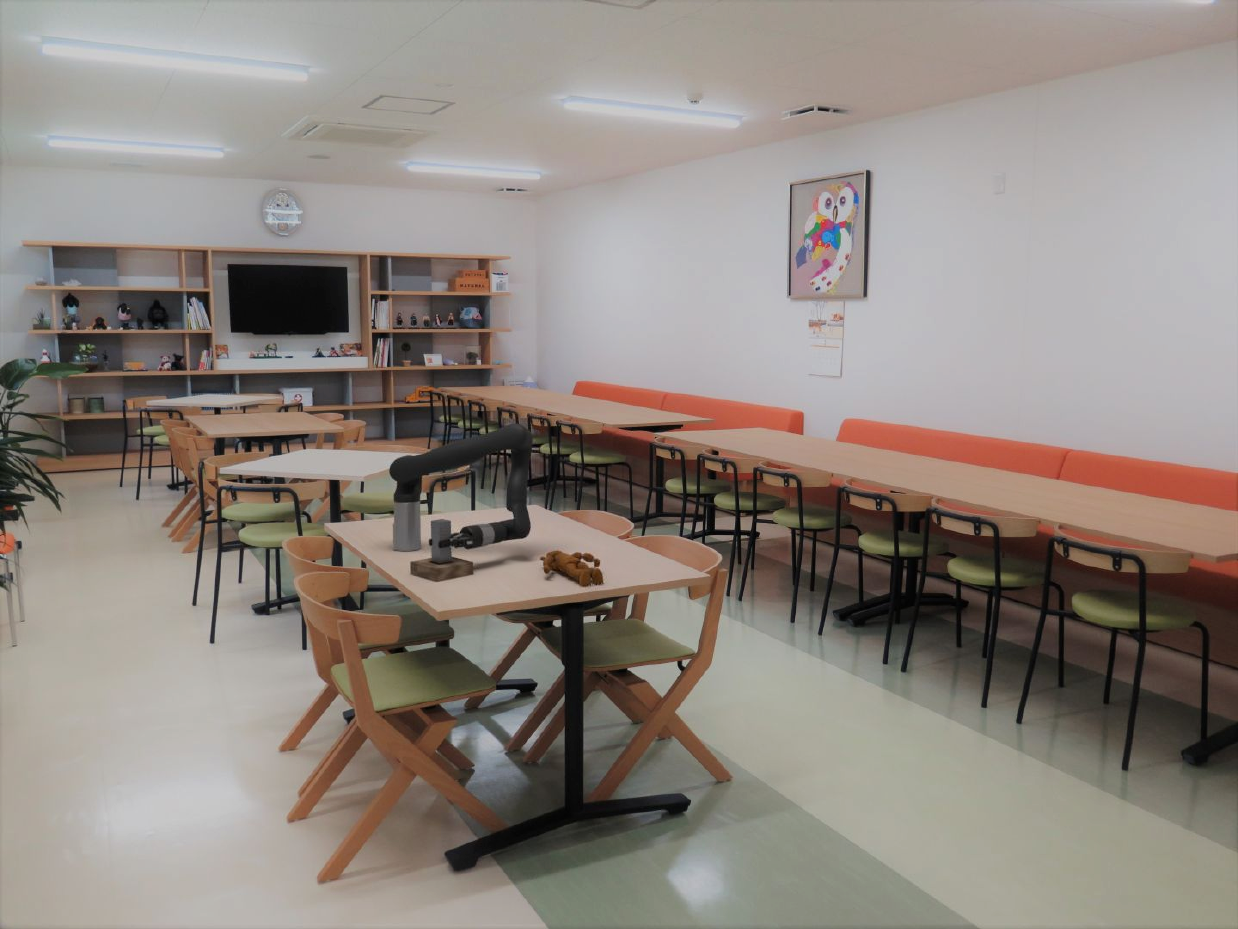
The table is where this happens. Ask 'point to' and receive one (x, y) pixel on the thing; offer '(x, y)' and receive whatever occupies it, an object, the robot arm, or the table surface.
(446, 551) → the post
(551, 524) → the table surface
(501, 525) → the robot arm
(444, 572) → the wooden block with hole
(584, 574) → the toy
